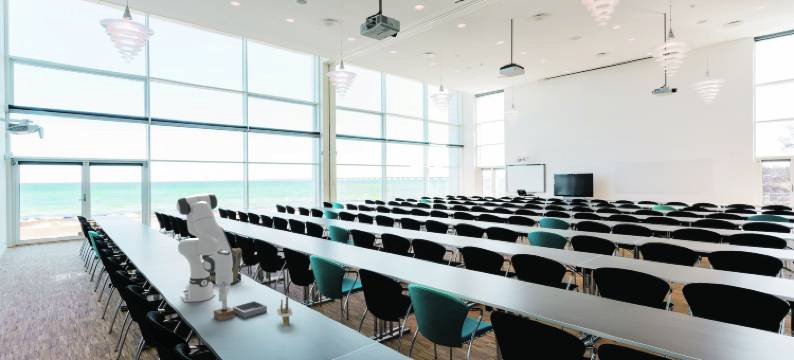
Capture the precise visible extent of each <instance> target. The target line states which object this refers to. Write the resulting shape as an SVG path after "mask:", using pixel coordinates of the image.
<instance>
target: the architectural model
mask: <svg viewBox="0 0 794 360" xmlns="http://www.w3.org/2000/svg"><path fill="white" fill-rule="evenodd" d="M283 303H284V302H283V299H281V300H280V306H279V308H277V309H276V312H277V315H278V317H282V325H283V327H290V317H291V316H293V310H292V308H290V307H289V296H285V304H283ZM283 305H284V307H283Z"/></svg>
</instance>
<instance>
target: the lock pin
mask: <svg viewBox="0 0 794 360" xmlns="http://www.w3.org/2000/svg"><path fill="white" fill-rule="evenodd" d="M227 299H228V298H227ZM227 299H226V305H225V306H222V305H221V309H222V312H224V311H227V307H228V300H227Z"/></svg>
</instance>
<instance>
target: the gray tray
mask: <svg viewBox="0 0 794 360" xmlns="http://www.w3.org/2000/svg"><path fill="white" fill-rule="evenodd" d="M232 309H234V310H235V316H238V317H240V318H242V319H243V320H244V319H245V320H246V319H249V318H251V317H252V318H253V317H255V316H258V315H262V314H265V313H267V312H268V310H267V309H268V306H267V305H266V304H263V303H261V302H258V301H256V300H253V301H249V302H245V303H241V304H237V305H234V306H232Z"/></svg>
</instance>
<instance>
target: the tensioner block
mask: <svg viewBox="0 0 794 360" xmlns="http://www.w3.org/2000/svg"><path fill="white" fill-rule="evenodd" d="M235 316H236V314H235V310H234V309H233V307H232V308H231V307H229V306H227V311H224V312H222V308H219V309H215V310H213V318H214V319H216V320H218V321H219V322H222V321H226V320H229V319H233V318H236V317H235Z"/></svg>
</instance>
